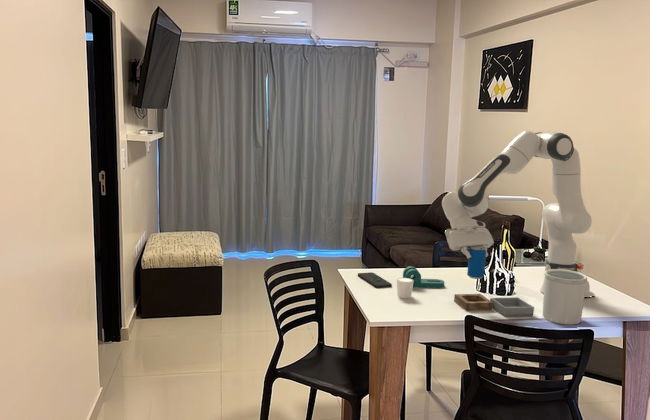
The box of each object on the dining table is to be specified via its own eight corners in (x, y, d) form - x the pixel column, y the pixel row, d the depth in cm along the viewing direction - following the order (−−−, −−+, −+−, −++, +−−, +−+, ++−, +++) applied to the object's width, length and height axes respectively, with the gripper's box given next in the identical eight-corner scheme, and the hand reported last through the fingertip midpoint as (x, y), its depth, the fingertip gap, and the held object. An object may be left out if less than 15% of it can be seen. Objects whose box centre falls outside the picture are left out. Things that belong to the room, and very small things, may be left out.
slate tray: (517, 305, 232) (517, 297, 231) (533, 315, 220) (534, 307, 220) (489, 306, 229) (490, 297, 229) (504, 316, 218) (505, 308, 217)
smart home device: (375, 285, 247) (356, 273, 266) (375, 289, 248) (356, 276, 266) (392, 284, 250) (373, 272, 269) (392, 287, 251) (372, 275, 269)
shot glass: (415, 295, 239) (416, 279, 238) (408, 299, 234) (409, 283, 233) (400, 292, 243) (401, 276, 242) (393, 296, 237) (394, 279, 236)
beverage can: (484, 280, 224) (486, 250, 222) (467, 278, 225) (469, 248, 223) (483, 275, 230) (485, 246, 228) (466, 274, 231) (469, 245, 229)
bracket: (405, 287, 251) (406, 270, 250) (402, 283, 258) (403, 266, 257) (445, 288, 252) (447, 271, 251) (441, 284, 259) (443, 267, 258)
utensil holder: (551, 325, 211) (556, 279, 208) (533, 311, 225) (538, 268, 222) (589, 325, 212) (595, 280, 209) (569, 312, 227) (574, 269, 224)
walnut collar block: (479, 300, 236) (480, 293, 236) (492, 309, 225) (493, 302, 225) (454, 301, 234) (454, 294, 233) (465, 310, 223) (466, 303, 223)
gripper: (447, 224, 226) (461, 254, 219) (487, 222, 235) (502, 251, 228) (439, 233, 231) (453, 263, 224) (479, 230, 240) (493, 259, 233)
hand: (478, 257), depth 226 cm, fingers closed on beverage can, 6 cm apart
